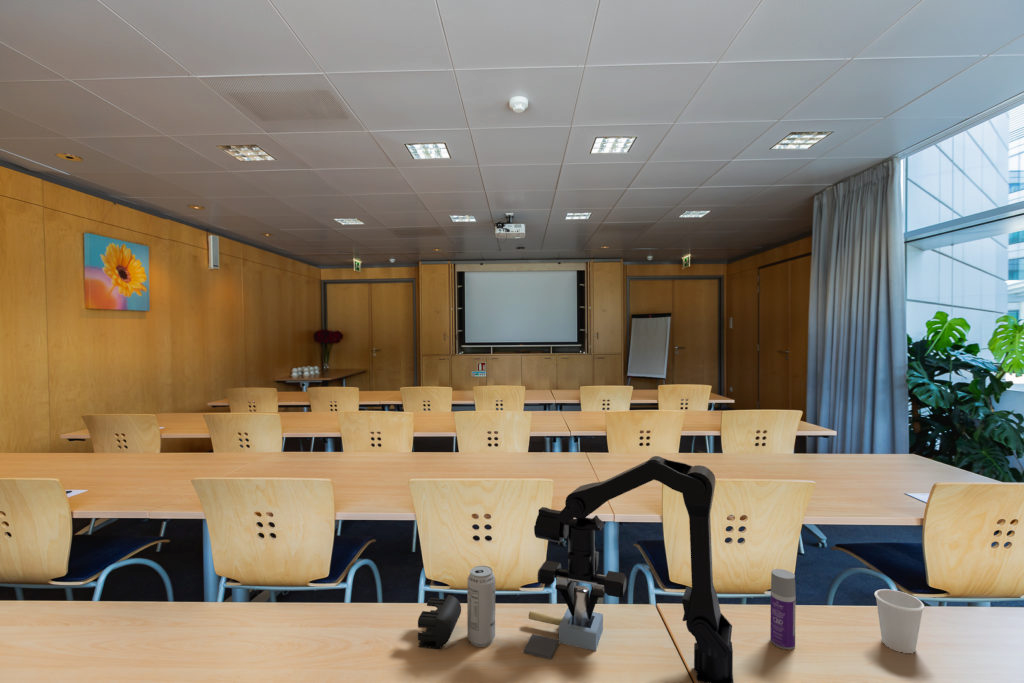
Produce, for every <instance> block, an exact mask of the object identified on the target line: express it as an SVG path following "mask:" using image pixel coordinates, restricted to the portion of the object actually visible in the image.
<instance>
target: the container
mask: <svg viewBox="0 0 1024 683" xmlns="http://www.w3.org/2000/svg"><path fill="white" fill-rule="evenodd" d="M770 573H771V574H770V578H771V580H770V643H771V644H772V643H773V644H774V645H773V644H772V645H773V646H775V645H776V646H777V647H776V646H775V647H776V648H778V647H780V648H779V649H781V648H782V649H781V650H785V649H790V650H789V651H792V650H794V649H795V648H796V612H797V611H796V606H797V605H796V604H797V603H796V597H797V596H796V575H795V574H794V573H793V572H791V571H789V570H787V569H782V568H774V569H772V570H771V572H770ZM791 649H792V650H791Z"/></svg>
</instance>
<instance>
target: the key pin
mask: <svg viewBox="0 0 1024 683" xmlns="http://www.w3.org/2000/svg"><path fill="white" fill-rule="evenodd" d="M573 590H574V625H576V626H581V627H586V628H589V617H588V611H589V598H590V588H589V587H587V586H585V585H577V586H574V587H573Z"/></svg>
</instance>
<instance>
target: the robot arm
mask: <svg viewBox="0 0 1024 683" xmlns="http://www.w3.org/2000/svg"><path fill="white" fill-rule="evenodd" d="M652 481H656V482H660V483H661V484H662V485H665V486H666V487H668V488H669V489H670V490H672V491H673V490H674V491H676V492H678V493H681V494H682V498H683V503H684V506H685V508H686V511H687V514H688V519H689V543H690V544H689V545H690V546H689V547H690V569H691V571H690V573H691V574H690V575H691V587H689V586H686V587H685V589H684V593H683V596H682V603H681V604H682V607H683V608H682V609H683V617H682V622H685V624H686V625H685V626H686V628H687V631H688V632H689V633H690V634H691V635H692V636H693V638H694V639H695V643H693V644H694V645H693V650H694V651H693V655H694V656H693V671H694V672H696V680H697V681H698V682H700V683H702V682H703V683H734V675H733V674H734V671H733V670H734V669H733V667H734V666H733V661H734V660H733V659H734V658H733V656H734V655H733V654H734V653H733V652H734V651H733V642H732V640H731V639H732V632H733V625H732V624H731V623H730V621H729V620H728V619H727V618H726V616H724V615H723V613H722V612H721V607H720V603H719V602H720V601H719V598H718V594H717V590H716V589H715V585H714V581H713V580H714V576H713V552H712V551H713V549H712V532H711V531H712V530H711V529H712V526H711V522H712V521H711V512H712V507H713V501H714V496H715V488H716V482H717V481H716V475H715V474H714V472H713V471H712V470H711V469H710V468H708V467H706V466H705V465H700V464H699V465H690V464H688V463H684V462H680V461H676V460H670V459H667V458H664V457H662V456H660V455H659V456H658V455H655V456H652V457H650V458H649V459H648V460H646V461H644V462H641V463H639V464H637V465H634V466H633V467H630V468H629V469H627V470H625V471H623V472H621V473H618V474H616V475H613V477H610V478H608V479H606V480H603V481H602V480H601V481H598V482H592V483H587V484H583V485H580V486H578V487H577V488H576V489H574V490H573V491H572V492H571V493H569V494H567V496H566V497H565V501H564V503H565V505H564V508H563V509H562V510H557V509H551V508H548V507H544V506H542V507H540V508H539V509H538V511H537V512H538V515H537V517H536V520H535V524H534V526H533V530H534V532H533V533H534V536H535V538H537V539H539V540H540V539H541V540H544V541H551V542H556V543H562V542H563V540H564V539H565V540H566V539H568V549H567V559H568V569H562V564H561V562H558V561H557V562H556V561H551V560H545V561H544V562H543V563H542V564H541V566H540V567H539V569H537V570H538V571H537V582H538V583H539V584H542V585H547V586H548V585H549V586H551V585H552V584H554V583H555V580H556V584H555V587H554V588H555V590H556V591H559V593H560V594H561V596H562V599H564V601H565V603H566V606H567V608H569V610H570V613H571V615H572V616H574V584H575V582H576V583H577V582H578V583H582V584H589V585H591V586H592V587H591V589H590V591H589V611H588V617H589V619H591V617H592V614H593V612H595V606H596V604H597V602H598V600H599V599H603V598H605V595H606V596H609V597H610V596H611V597H616V598H623V597H624V595H625V592H626V589H627V576H626V574H625V573H624V572H617V571H613V570H608V571H607V573H606V575H604V574H596V573H595V572H597V571H598V567H599V558H600V557H599V556H600V555H599V554H600V552H599V551H596V544H595V543H596V540H595V539H596V538H595V537H596V536H595V535H596V532H595V531H597V532H600V531H601V530H602V528H604V526H605V523H604V522H603V520H601V519H600V518H599V516H598V515H597V514H596V515H595V516H593V517H588V516H589V515H591V514H592V513H594V512H595V511H596V510H598V509H599V508H600V507H601V506H603V505H604V504H605V503H607V502H608V501H610V500H612V499H614V498H615V499H616V498H617V497H619V496H621V495H623V494H626V493H628V492H630V491H632V490H635V489H637V488H639V487H641V486H644V485H646V484H647V483H650V482H652Z"/></svg>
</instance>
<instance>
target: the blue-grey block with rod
mask: <svg viewBox="0 0 1024 683" xmlns="http://www.w3.org/2000/svg"><path fill="white" fill-rule="evenodd" d="M528 620H530V621H534V622H535V621H537V622H539V623H540V622H541V623H545V624H551V625H555V626H558V640H559V642H560V643H559V644H564V645H567V644H568V646H572V647H576V646H577V647H576V648H581V649H585V650H590V651H595V652H597V649H598V646H599V643H600V640H601V637H602V634H603V630H604V614H603V613H600V612H595V611H593V614H592V617H591V619H589V628H586V627H581V626H576V625H574V616H572V615H571V613H570V610H569V608H568V607H567V609H566V611H565V612H564V615H563V617H561V616H560V617H559V616H555V615H549V614H544V613H540V612H535V611H531V610H530V611H529V612H528Z"/></svg>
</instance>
